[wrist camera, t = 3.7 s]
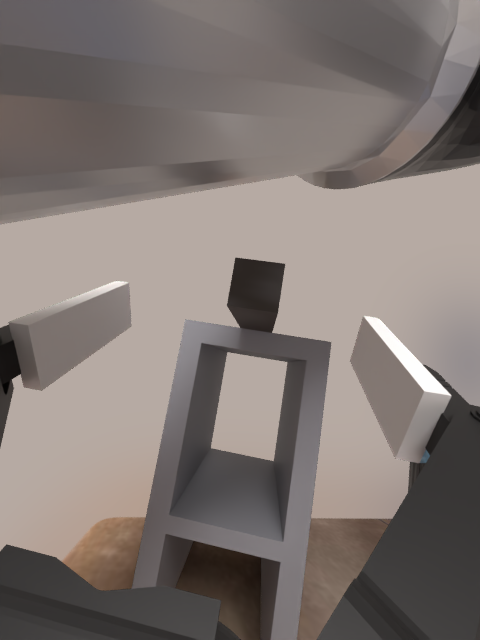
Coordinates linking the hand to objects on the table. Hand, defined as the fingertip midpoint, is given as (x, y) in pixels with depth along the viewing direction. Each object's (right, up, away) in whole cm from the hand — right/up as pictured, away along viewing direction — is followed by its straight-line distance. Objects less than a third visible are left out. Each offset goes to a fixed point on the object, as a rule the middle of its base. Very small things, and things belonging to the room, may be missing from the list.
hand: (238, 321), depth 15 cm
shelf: (-2, -32, +15) cm, 35 cm away
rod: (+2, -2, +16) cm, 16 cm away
